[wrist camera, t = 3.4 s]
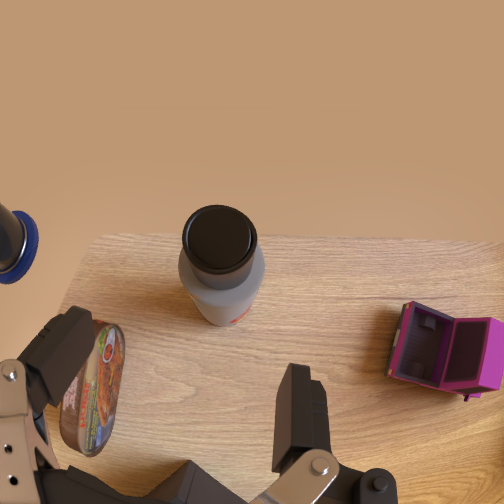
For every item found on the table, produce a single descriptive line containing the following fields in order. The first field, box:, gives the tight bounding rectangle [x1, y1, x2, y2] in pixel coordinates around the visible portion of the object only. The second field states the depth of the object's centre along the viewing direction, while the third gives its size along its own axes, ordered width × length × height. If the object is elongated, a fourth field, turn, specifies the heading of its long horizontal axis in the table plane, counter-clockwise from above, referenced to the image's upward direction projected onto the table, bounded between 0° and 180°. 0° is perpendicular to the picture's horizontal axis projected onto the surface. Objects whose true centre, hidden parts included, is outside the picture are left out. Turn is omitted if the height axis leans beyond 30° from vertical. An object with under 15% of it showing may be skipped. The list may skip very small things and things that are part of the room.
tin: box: [59, 320, 125, 457], centre depth 26 cm, size 15×3×8 cm, turn 170°
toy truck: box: [384, 301, 504, 402], centre depth 28 cm, size 11×16×10 cm
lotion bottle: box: [178, 205, 265, 327], centre depth 24 cm, size 6×6×20 cm
